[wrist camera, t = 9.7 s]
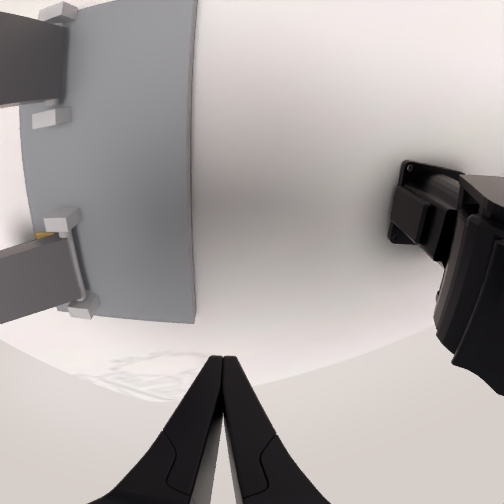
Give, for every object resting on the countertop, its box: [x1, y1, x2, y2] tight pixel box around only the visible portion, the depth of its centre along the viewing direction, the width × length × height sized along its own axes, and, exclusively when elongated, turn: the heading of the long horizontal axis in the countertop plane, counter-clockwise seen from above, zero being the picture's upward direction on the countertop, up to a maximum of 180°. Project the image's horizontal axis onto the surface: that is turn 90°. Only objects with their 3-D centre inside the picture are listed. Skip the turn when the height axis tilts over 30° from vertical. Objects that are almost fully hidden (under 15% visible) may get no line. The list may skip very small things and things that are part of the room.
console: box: [19, 0, 198, 324], centre depth 17 cm, size 13×24×4 cm, turn 177°
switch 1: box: [0, 12, 65, 108], centre depth 9 cm, size 2×6×10 cm, turn 178°
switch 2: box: [0, 230, 87, 324], centre depth 17 cm, size 2×6×10 cm
